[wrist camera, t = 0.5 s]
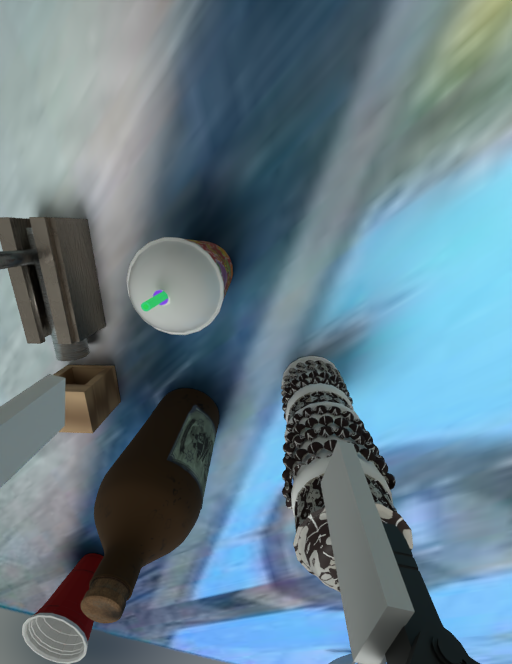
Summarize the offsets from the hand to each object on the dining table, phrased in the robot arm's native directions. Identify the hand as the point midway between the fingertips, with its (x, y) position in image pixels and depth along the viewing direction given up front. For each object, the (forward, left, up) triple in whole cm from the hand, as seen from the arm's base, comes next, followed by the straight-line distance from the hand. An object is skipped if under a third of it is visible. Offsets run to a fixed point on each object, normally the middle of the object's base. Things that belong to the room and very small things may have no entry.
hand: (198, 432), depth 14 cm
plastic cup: (+52, -30, -27) cm, 66 cm away
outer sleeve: (-3, -23, -27) cm, 35 cm away
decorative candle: (+12, +9, -27) cm, 31 cm away
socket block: (+13, -23, -27) cm, 37 cm away
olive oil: (+18, -9, -27) cm, 34 cm away
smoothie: (-4, -5, -27) cm, 28 cm away
